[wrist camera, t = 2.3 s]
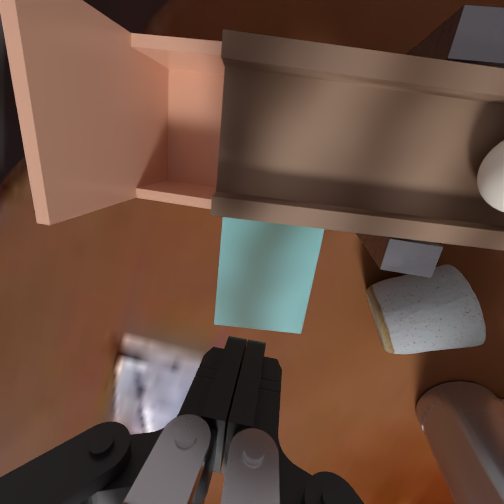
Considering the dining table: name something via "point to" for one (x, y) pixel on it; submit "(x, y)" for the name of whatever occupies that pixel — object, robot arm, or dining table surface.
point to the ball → (492, 177)
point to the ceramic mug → (426, 312)
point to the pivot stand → (458, 50)
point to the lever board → (342, 162)
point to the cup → (111, 109)
